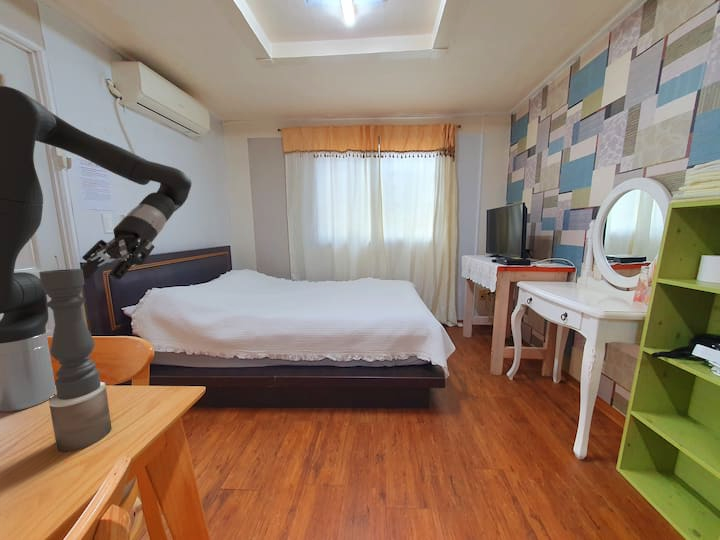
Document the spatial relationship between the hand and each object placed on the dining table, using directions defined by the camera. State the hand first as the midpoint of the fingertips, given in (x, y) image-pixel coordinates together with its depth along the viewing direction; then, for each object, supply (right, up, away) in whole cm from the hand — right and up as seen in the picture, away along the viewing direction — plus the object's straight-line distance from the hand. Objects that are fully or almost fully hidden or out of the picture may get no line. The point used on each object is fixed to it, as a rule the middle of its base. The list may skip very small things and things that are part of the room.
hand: (97, 277), depth 58 cm
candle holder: (-1, -24, -3) cm, 24 cm away
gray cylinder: (0, -33, -2) cm, 33 cm away
